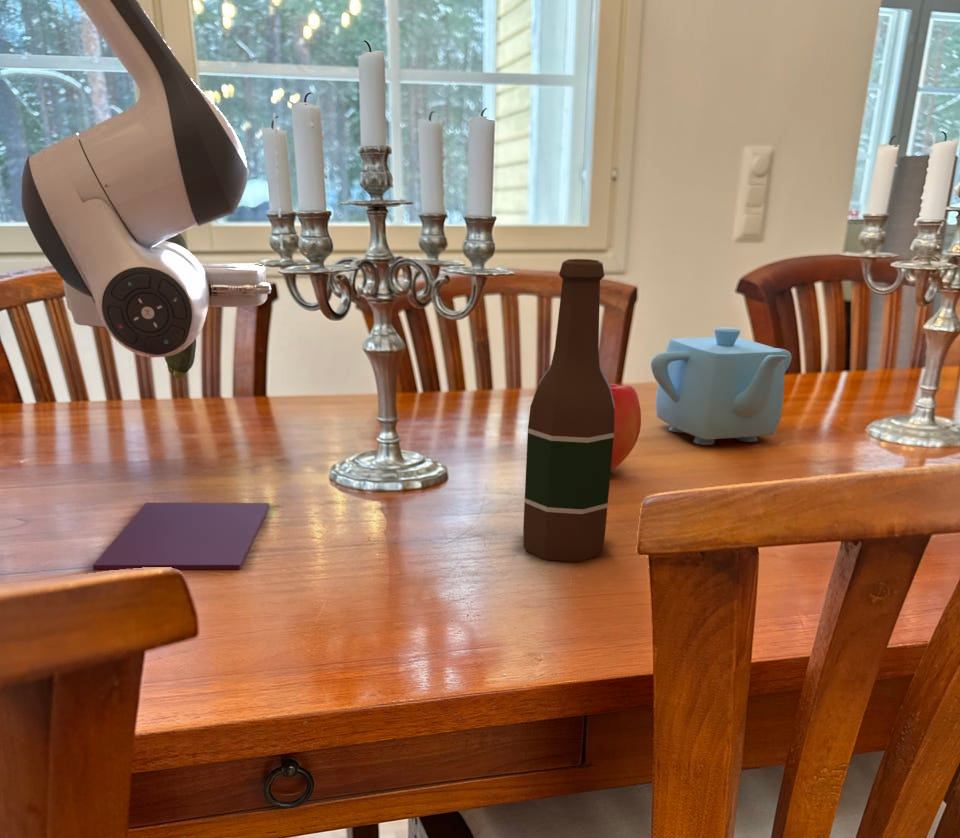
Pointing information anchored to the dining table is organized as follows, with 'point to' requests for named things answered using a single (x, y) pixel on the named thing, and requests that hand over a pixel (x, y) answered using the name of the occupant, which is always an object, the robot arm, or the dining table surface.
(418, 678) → the dining table surface
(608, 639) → the dining table surface
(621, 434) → the apple
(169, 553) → the placemat
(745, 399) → the teapot
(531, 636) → the dining table surface
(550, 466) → the beer bottle
